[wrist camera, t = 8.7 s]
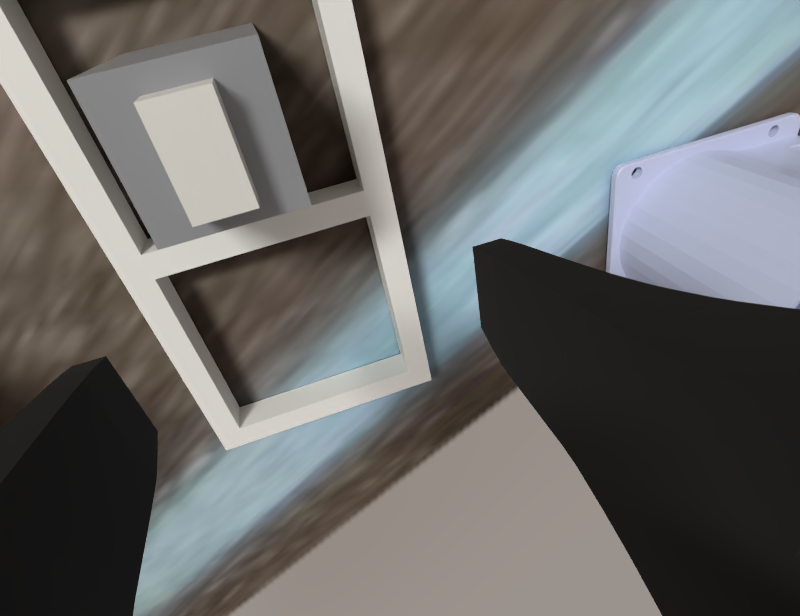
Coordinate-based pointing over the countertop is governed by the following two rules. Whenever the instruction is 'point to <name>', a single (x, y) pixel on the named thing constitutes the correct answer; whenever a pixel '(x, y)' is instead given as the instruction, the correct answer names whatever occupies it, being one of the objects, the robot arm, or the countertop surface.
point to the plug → (195, 134)
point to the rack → (231, 231)
